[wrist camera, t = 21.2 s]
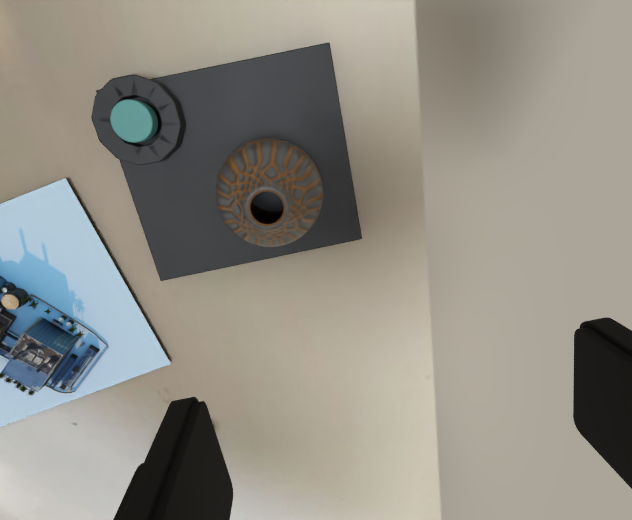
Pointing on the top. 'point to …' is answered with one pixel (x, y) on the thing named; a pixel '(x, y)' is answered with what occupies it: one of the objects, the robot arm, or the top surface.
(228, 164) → the vase
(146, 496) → the robot arm
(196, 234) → the scale
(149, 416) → the top surface
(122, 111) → the button
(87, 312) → the printed photo tile
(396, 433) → the top surface
